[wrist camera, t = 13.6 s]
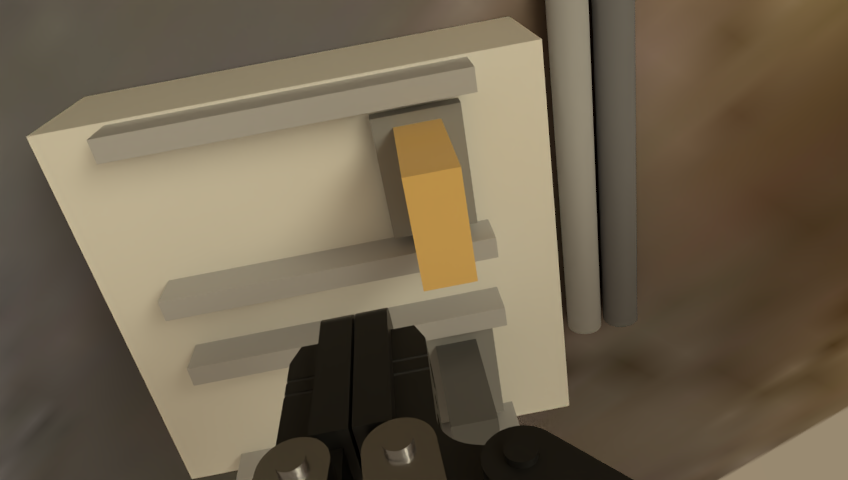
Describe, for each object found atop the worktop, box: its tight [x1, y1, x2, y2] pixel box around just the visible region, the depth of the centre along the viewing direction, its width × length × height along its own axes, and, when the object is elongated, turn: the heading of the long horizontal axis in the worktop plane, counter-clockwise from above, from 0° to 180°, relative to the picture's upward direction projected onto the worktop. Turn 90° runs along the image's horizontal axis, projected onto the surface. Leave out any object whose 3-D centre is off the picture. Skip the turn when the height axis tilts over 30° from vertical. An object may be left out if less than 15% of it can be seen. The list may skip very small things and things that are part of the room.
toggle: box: [426, 328, 504, 445], centre depth 24 cm, size 3×4×5 cm
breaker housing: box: [27, 16, 569, 480], centre depth 26 cm, size 17×16×6 cm
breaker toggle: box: [369, 98, 478, 291], centre depth 20 cm, size 3×4×5 cm
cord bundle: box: [545, 0, 637, 334], centre depth 28 cm, size 3×16×2 cm, turn 9°
